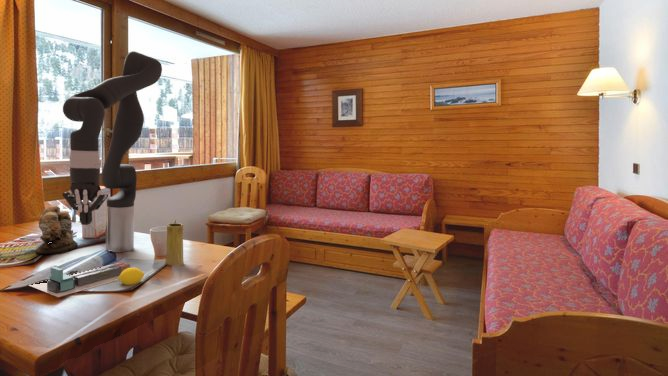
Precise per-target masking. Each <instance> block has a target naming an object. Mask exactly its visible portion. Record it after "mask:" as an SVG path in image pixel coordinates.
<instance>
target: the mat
mask: <svg viewBox="0 0 668 376" xmlns="http://www.w3.org/2000/svg"><path fill="white" fill-rule="evenodd" d="M113 264H114V263H113ZM113 264H112V263H111V264H108V265H103V266H102V267H105V266H109V265H113ZM119 276H120V275H117V276H113V277H110V278H106V279H102V280H99V281H95V282H92V283H88V284H84V285H81V286H77V285H75V289H71V290H67V291H64V292H60V293H57V294H56V293H53V292H51V291H48V290H47V283H40V284H35V283H32V284H33V285H31V284H28V286H29V287H31V288H34V289H37V290H39V291H42V292H45V293H46V294H49V295H51V296H54V297H56V298H61V297H64V296H68V295H71V294H75V293H79V292H81V291H84V290H88V289H92V288H95V287H99V286H102V285H105V284H106V285H107V284H110V283H113V282H115V281H120V280H119Z"/></svg>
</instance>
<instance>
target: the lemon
mask: <svg viewBox="0 0 668 376" xmlns="http://www.w3.org/2000/svg"><path fill="white" fill-rule="evenodd" d="M144 276H145V273H144V272H143V271H142V270H141V269H139V268H137V267H130V268H127V269H125V270H124V271H122V273H121V274H120V276H119V280H118V281H120V283H121V284H122V285H125V286H134V285H137V284H139V283H140V282H141V281H142V279H143V278H144Z"/></svg>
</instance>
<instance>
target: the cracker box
mask: <svg viewBox="0 0 668 376" xmlns="http://www.w3.org/2000/svg"><path fill="white" fill-rule="evenodd" d="M99 186H100V188H101V191H102V192H103V193H104V194H108V197H107V199H108V198H110V197H111V189H108V188H106V187H104V186H103V185H99ZM96 197H97V196H96ZM96 199H97V198H95V201H96ZM107 199H106V200H105V201H104V203H103V204H102V205H101V206H100V208H99V209H98V210H94V211H92V222H91V223H90V224H88V225H81V229H82V231H81V233H82V239H97V238H100V237H101V236H103V235H106V225H107ZM82 201H83V200H82Z"/></svg>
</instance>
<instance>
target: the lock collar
mask: <svg viewBox="0 0 668 376" xmlns="http://www.w3.org/2000/svg"><path fill="white" fill-rule="evenodd" d="M69 275H70V274H65V273H64V269H63V268H59V267H57V266H51V267H50V275H48V277H49V278H48V280H54V281H57V282H60V291H65V290H68V289H72V288H73V277H72V276H69Z"/></svg>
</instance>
